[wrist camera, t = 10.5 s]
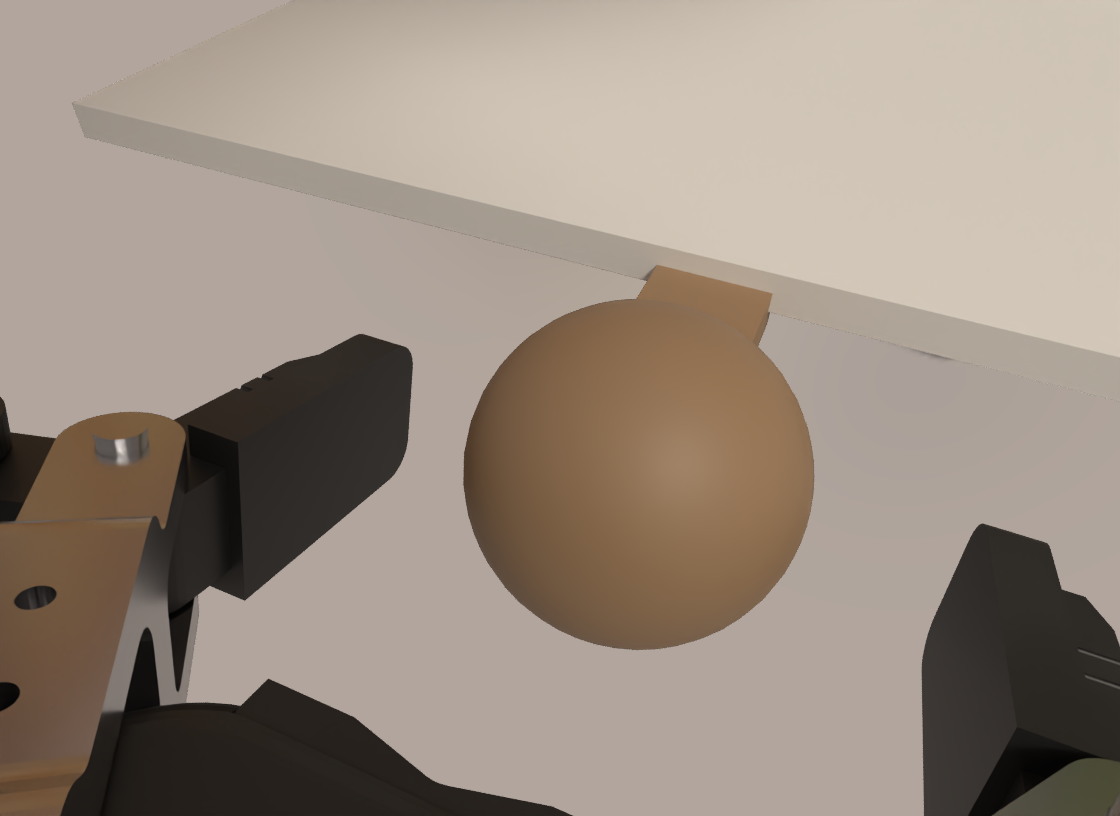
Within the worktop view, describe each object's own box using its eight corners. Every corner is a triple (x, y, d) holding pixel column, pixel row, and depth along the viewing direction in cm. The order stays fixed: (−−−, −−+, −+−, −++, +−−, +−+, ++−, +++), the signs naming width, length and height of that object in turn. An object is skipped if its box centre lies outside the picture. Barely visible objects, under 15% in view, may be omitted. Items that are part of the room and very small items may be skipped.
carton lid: (-284, 186, 10) (-110, 424, 13) (2770, 1191, 4) (1846, 1231, 7) (521, -138, 26) (521, 0, 28) (1377, -38, 20) (1273, 125, 22)
